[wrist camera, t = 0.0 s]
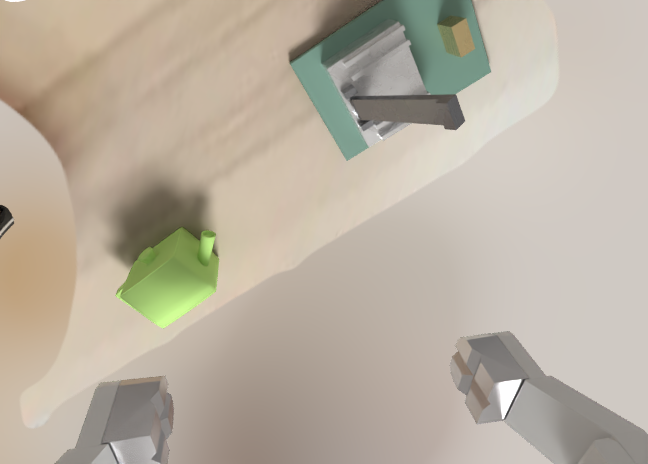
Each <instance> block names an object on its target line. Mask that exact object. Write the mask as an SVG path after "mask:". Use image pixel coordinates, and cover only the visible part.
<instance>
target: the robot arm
mask: <svg viewBox="0 0 648 464" xmlns="http://www.w3.org/2000/svg"><path fill="white" fill-rule="evenodd" d="M456 348H457V350H458V352H457V353H456V354H455V355H454V356H452V359H451V363H450V368H451V375H452V378H453V381H454V383H455V385H456V387H457V389H458V390H460V391H461V392H463V393H464V394H465V395H466V400H465V404H466V405H467V407H468V409H469V411H470V413H471V415H472V416H473V418H474V420H475V422H476V424H482V423H488V422H496V421H503V420H505V423H506V424H507V425H509V426H510V427H511V428H512V429H513V430H514V431H516V432H517V433H518V434H519V435H521V436H522V437H523V438H524V439H525V440H526V441H527V442H529V443H530V444H531V445H532V446H533V447H535V448H536V449H537V450H538V451H539V452H541V453H542V454H543V455H544V456H545V457H546V458H548V459H549V460H550V461H551V462H553V463H554V464H648V434H647V433H646V432H645V431H644V430H643V429H641V428H639V427H638V426H636V425H634V424H633V423H631V422H629V421H627V420H626V419H624V418H622V417H621V416H619V415H617V414H615V413H614V412H612V411H610V410H609V409H607V408H605V407H604V406H602V405H600V404H598V403H597V402H595V401H593V400H591V399H590V398H588V397H586V396H585V395H583V394H581V393H580V392H578V391H576V390H574V389H573V388H571V387H569V386H568V385H566V384H564V383H563V382H561V381H559V380H557V379H556V378H554V377H552V376H546V375H545V374H544V373H543V371H542V370H541V369H540V367H539V366H538V365H537V364H536V362H535V361H534V360H533V359H532V357H531V356H530V355H529V354H528V352H527V351H526V350H525V349H524V347H523V346H522V345H521V343H520V342H519V341H518V340H517V338H516V337H515V336H514V335H513V334H512V333H511V332H508V331H507V332H498V333H492V334H491V333H488V334H481V335H474V336H467V337H461V338H460V339H459V340H458V341H457V343H456ZM167 388H168V382H167V379H166V376H159V377H149V378H139V379H129V380H120V381H112V382H103V383H100V384H99V386H98V387H97V388H96V389H95V392H94V395H93V398H92V401H91V404H90V407H89V410H88V413H87V416H86V418H85V421H84V424H83V427H82V430H81V433H80V436H79V439H78V441H77V444H76V447H75V449H69V450H67V452H66V453H64V454H63V456H61V457H60V459H59V460H58V461H57V462H56V463H55V464H168V457H169V451H170V450H169V447H168V443H167V440H166V439H167V438H168V437H169V435H170V434H171V433H172V429H173V420H174V417H173V416H174V407H173V400H172V396H171V394H169V393H167Z"/></svg>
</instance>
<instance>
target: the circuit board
mask: <svg viewBox="0 0 648 464" xmlns="http://www.w3.org/2000/svg"><path fill="white" fill-rule="evenodd" d="M449 16H457V17H463V18H466V19H467V23H468V26H469V29H470V33H471V36H472V40H473V43H474V46H475V49H474V50H473V51H471V52H469V53H468V54H466V55H465V56H463V57H461V58H460V57H457V56H455V55H452V54H449V53H447V52H446V49H445V46H444V43H443V40H442V37H441V34H440V32H439V29H438V26H437V24H438V23H440V22H441V21H443V20H445V19H446V18H448V17H449ZM387 19H391V20H395V21H399V23H400V24H402V25H404V27H405V31H403V33H404V35H405V38H406V39H409V40H410V43H411V45H409V48H410V51H411V53H412V56H413V58H414V61H415V64H416V66H417V69H418V71H419V74H420V76H421V79H422V81H423V84H424V86H425V89H426V91H428V92H430V94H431V95H443V94H456V93H458V92H459V91H461V90H463V89H464V88H466V87H468V86H469V85H471V84H472V83H474V82H476V81H477V80H479V79H481V78H482V77H484V76H485V75H487V74H489V73H490V72H491V70H490V66H489V62H488V59H487V55H486V52H485V48H484V45H483V41H482V37H481V34H480V30H479V27H478V23H477V20H476V16H475V12H474V9H473V5H472V2H471V0H382V1H380V2H379V3H377V4H376V5H374V6H373V7H371V8H370V9H368V10H367V11H365V12H364V13H363V14H361V15H360V16H358V17H357V18H355V19H354V20H352V21H351V22H349V23H348V24H346V25H345V26H343V27H342V28H340V29H339V30H337V31H336V32H334V33H333V34H331V35H330V36H328V37H327V38H325V39H324V40H322V41H321V42H319V43H318V44H316V45H315V46H313V47H312V48H310V49H309V50H307V51H306V52H304V53H303V54H301V55H300V56H299V57H297V58H296V59H294V60H293V61H291V62H290V65H291V66H292V68H293V70H294V71H295V73H296V75H297V77H298V78H299V80H300V82H301V83H302V85H303V87H304V89H305V90H306V92H307V94H308V95H309V97H310V99H311V100H312V102H313V104H314V106H315V107H316V109H317V111H318V112H319V114H320V116H321V117H322V119H323V121H324V123H325V124H326V126H327V128H328V129H329V131H330V133H331V135H332V136H333V138H334V140H335V141H336V143H337V145H338V146H339V148H340V150H341V152H342V153H343V155H344V157H345V158H346V160H347V161H348V160H349V159H351V158H352V157H354V156H356V155H357V154H359V153H361V152H362V151H364V150H365V149H367V148H369V147H368V146H367V144H366V143H365V142H364V141H363V139H362V138H361V136H360V134H359V133H358V131H357V129H356V127H355V125H354V123H353V121H352V120H351V118H350V116H349V114H348V112H347V110H346V108H345V107H344V105H343V103H342V101H341V99H340V97H339V95H338V94H337V92H336V90H335V88H334V86H333V84H332V82H331V81H330V79H329V77H328V75H327V73H326V71H325V69H324V68H323V66H322V64H321V63H322V62H324V61H325V60H327V59H328V58H330V57H331V56H333V55H334V54H336V53H337V52H339V51H340V50H342V49H343V48H345V47H346V46H348V45H349V44H351V43H352V42H354V41H355V40H357V39H358V38H360V37H361V36H363V35H364V34H366V33H367V32H369V31H370V30H372V29H373V28H375V27H376V26H378V25H380V24H381V23H383V22H384V21H386V20H387Z"/></svg>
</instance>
